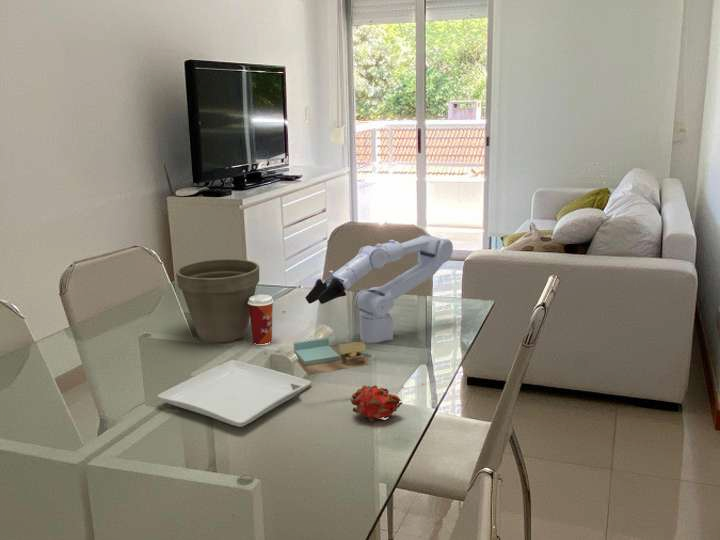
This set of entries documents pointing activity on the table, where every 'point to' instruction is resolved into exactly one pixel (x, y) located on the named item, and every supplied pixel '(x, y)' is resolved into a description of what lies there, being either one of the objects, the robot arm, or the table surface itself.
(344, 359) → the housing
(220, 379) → the square plate
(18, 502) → the table surface
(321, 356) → the cover
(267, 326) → the paper cup
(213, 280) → the plant pot
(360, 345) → the tan block with knob
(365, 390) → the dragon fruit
